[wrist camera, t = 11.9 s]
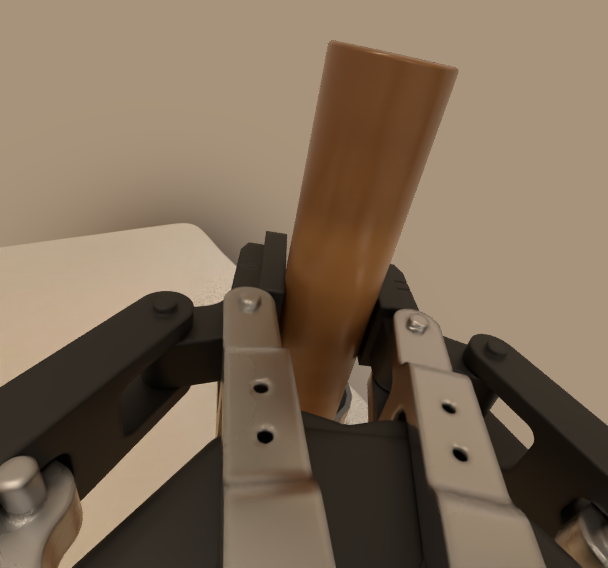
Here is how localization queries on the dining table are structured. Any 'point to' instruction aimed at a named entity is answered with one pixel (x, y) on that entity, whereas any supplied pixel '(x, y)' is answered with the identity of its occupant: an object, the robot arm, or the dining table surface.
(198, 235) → the dining table surface
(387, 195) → the cylinder
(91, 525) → the dining table surface
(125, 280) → the dining table surface
